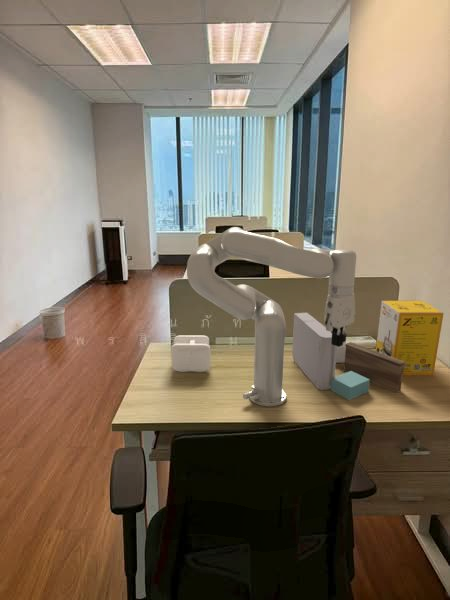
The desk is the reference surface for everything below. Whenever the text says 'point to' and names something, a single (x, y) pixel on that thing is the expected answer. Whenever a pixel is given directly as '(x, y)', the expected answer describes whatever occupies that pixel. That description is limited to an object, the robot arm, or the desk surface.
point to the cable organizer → (191, 353)
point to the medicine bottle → (341, 351)
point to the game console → (314, 350)
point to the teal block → (350, 385)
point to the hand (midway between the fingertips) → (336, 344)
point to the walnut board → (374, 366)
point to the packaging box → (410, 334)
